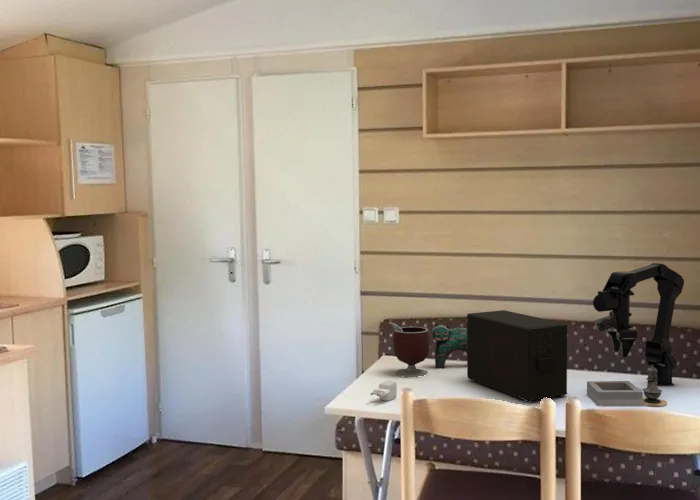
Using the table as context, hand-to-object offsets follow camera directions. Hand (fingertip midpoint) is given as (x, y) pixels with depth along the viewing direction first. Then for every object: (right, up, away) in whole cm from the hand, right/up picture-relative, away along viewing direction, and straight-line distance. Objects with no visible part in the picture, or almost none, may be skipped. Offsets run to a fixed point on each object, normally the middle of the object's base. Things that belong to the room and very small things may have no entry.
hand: (620, 354), depth 262 cm
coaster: (+6, -14, -13) cm, 20 cm away
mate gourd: (-70, -12, +32) cm, 77 cm away
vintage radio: (-33, -13, +7) cm, 36 cm away
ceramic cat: (-50, -11, +42) cm, 66 cm away
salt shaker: (+6, -14, -13) cm, 20 cm away
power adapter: (-81, -15, -6) cm, 83 cm away
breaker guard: (-5, -14, -9) cm, 17 cm away
